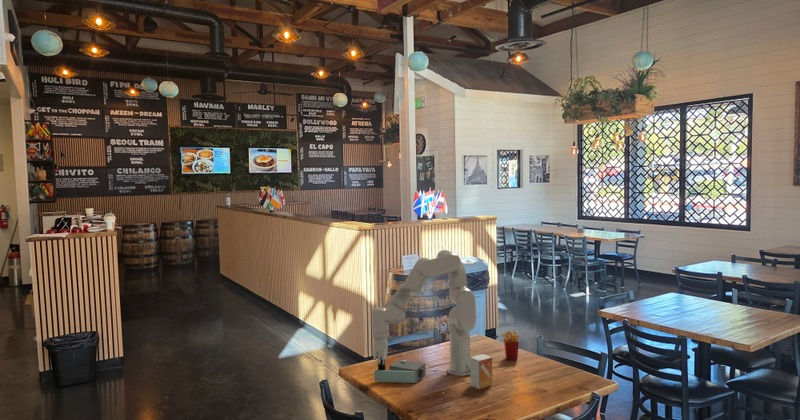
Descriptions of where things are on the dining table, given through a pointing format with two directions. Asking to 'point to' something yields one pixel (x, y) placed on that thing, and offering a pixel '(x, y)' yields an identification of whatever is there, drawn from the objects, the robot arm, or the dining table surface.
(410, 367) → the box
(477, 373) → the small box
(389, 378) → the door
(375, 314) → the robot arm
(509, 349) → the french fries
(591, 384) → the dining table surface
